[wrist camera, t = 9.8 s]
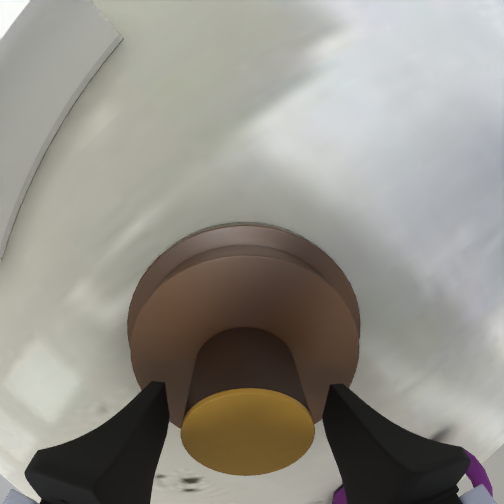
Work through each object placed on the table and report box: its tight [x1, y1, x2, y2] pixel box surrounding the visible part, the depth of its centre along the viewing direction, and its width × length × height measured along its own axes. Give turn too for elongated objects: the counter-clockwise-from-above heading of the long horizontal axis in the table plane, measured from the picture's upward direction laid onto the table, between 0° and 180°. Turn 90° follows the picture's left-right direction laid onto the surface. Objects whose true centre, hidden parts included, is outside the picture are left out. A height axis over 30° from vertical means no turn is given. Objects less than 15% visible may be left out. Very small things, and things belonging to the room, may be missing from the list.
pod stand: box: [127, 222, 360, 428], centre depth 16 cm, size 14×14×4 cm
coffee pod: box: [181, 327, 315, 476], centre depth 12 cm, size 5×5×5 cm
